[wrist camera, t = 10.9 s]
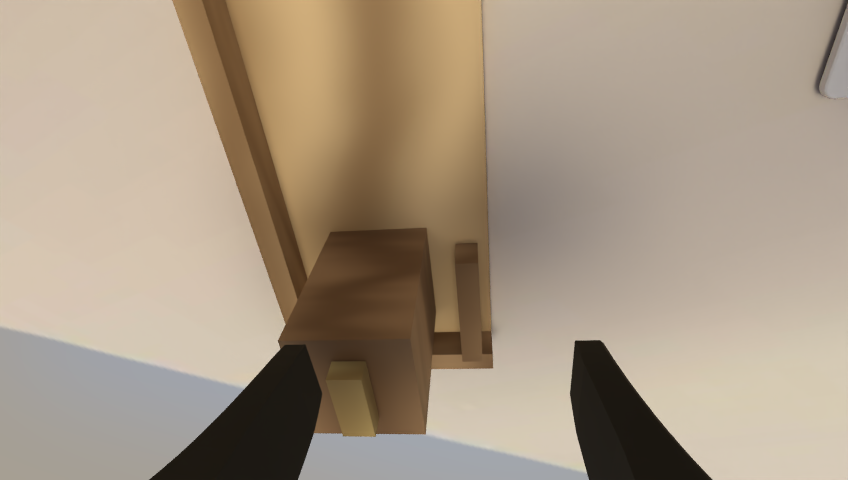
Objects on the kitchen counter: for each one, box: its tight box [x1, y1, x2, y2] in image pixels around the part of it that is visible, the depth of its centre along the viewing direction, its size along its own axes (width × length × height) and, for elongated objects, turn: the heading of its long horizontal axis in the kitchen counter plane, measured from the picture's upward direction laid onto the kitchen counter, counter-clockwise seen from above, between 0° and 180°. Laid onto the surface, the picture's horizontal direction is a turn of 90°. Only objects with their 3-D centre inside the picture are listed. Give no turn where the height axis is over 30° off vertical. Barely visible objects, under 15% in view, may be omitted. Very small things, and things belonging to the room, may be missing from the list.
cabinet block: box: [278, 228, 436, 437], centre depth 19 cm, size 4×5×8 cm
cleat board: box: [172, 0, 493, 369], centre depth 20 cm, size 10×18×2 cm, turn 6°
